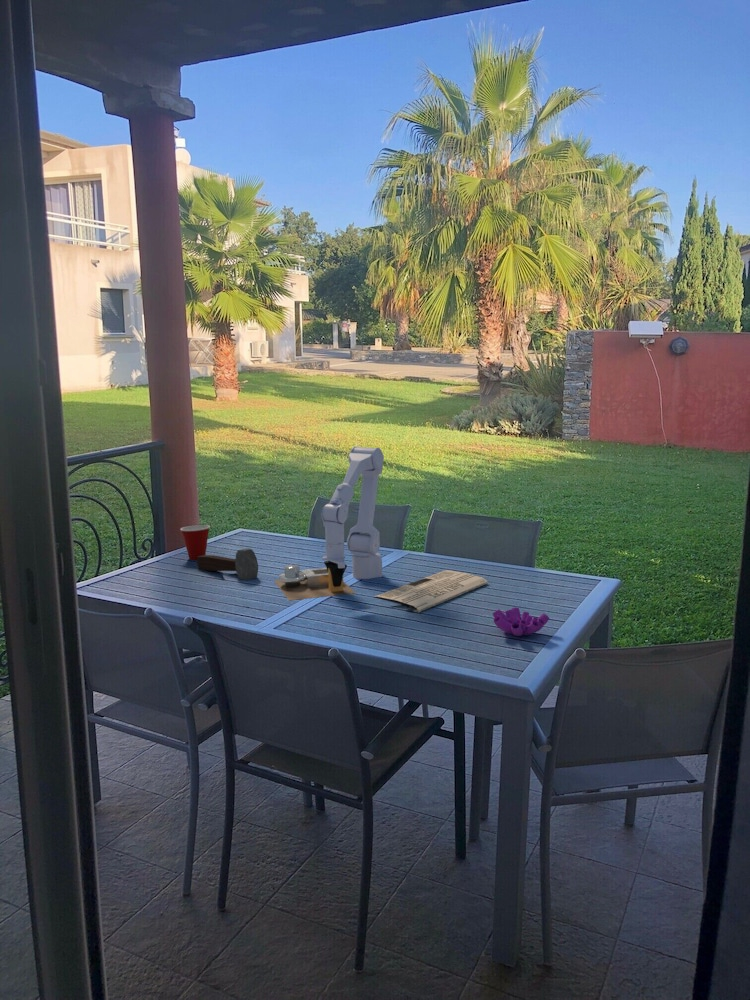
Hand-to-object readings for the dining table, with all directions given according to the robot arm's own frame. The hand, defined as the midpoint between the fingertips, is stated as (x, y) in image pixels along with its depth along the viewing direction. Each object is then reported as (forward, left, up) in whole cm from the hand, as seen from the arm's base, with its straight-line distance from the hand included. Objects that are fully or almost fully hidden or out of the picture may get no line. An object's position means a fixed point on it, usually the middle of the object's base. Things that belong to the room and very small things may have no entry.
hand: (335, 584), depth 245 cm
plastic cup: (+36, -61, -3) cm, 71 cm away
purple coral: (-36, +50, -3) cm, 62 cm away
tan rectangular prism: (0, 0, -2) cm, 2 cm away
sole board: (+6, -6, -3) cm, 9 cm away
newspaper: (-29, +9, -4) cm, 31 cm away
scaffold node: (+6, -10, -2) cm, 12 cm away
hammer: (+29, -34, -4) cm, 45 cm away
